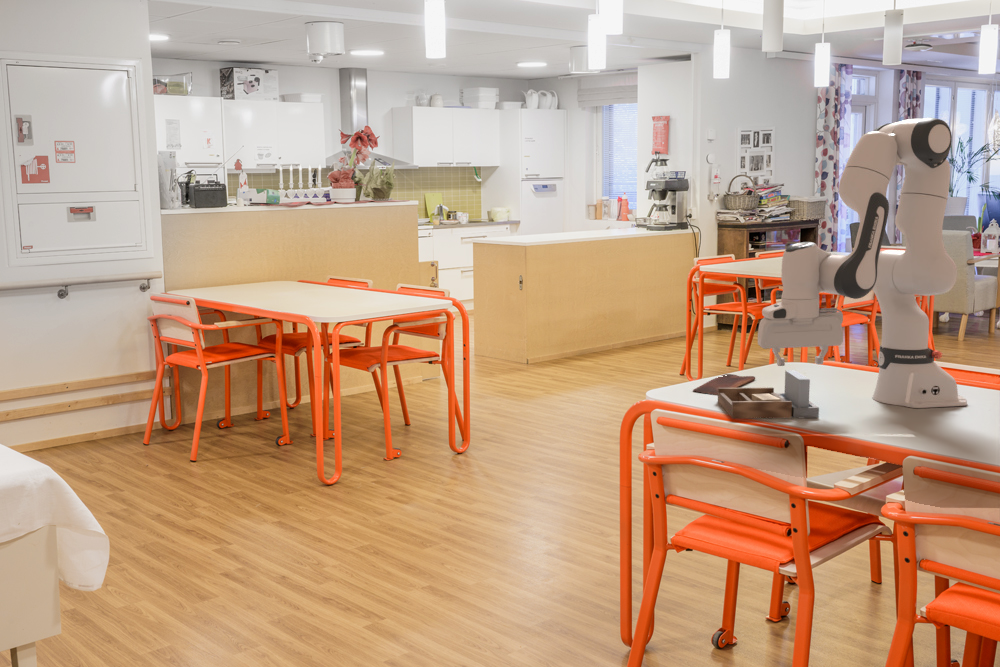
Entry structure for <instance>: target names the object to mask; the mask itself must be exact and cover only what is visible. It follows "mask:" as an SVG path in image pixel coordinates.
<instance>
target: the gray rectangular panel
mask: <svg viewBox="0 0 1000 667" xmlns="http://www.w3.org/2000/svg"><path fill="white" fill-rule="evenodd" d="M784 371H785V372H784V393H785V394H784V398H786V399H787V400H788V401H791V402H792V404H793V405H795V406H796V407H809V401H810V385H811V384H810V383H811V380H810V378H808V377H807V376H806V375H803V374H802V373H800V372H798V371H797V370H793V369H792V370H784Z"/></svg>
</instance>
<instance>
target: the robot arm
mask: <svg viewBox="0 0 1000 667" xmlns="http://www.w3.org/2000/svg"><path fill="white" fill-rule="evenodd" d="M952 138H953V137H952V131H951V128H950V126H949V125H948V123H947V122H946V121H944V120H943V119H939V118H935V117H925V118H910V119H904V120H901V121H897V122H896V121H895V122H893V123H885V124H882V125H879V126H878V127H877V128H875V129H874V130H873V131H869V132H866V133H865V134H863V135H861V137H860V138H859V140H858V141H857V143H856V145H855V146H854V148H853V150H852V151H851V153H850V156H849V157H848V160H847V162H846V164H845V167H844V169H843V172H842V174H841V177H840V179H839V184H838V195H839V197H840V199H841V201H842V202H843V203H844V204H845V205H846V206H847V207H848V208H850V209H851V210H853V211H854V212H856V213H857V214H858V217H859V225H858V226H859V227H858V230H857V233H856V238H855V242H854V247H853V249H852V251H851V252H850V253H849V254H847V255H843V254H835V253H834V254H833V253H831V252H828V251H826V250H824V249H822V248H820V247H819V246H818V244H816V243H815V242H811V241H803V242H797V243H792V244H790V245H788V246H787V247H785V249H784V251H783V253H782V254H783V255H782V259H781V260H782V261H781V276H780V278H781V283H782V293H781V297H780V298H781V299H780V300H781V301H779V302H776V303H774V304H771V305H769V306H768V305H767V306H765V307H763V308H762V310H761V314H762V316H763V318H761V320H759V324H758V330H757V344H758V346H760V348H762V349H764V350H765V349H766V350H767V349H772V353H773V355H774V357H775V358H776V365H777V366H778V367H783V366H785V365H786V364H785V359H786V358H784V357H781V356H780V354H779V353H781V349H789V348H790V349H791V348H792V349H793V348H810V347H811V348H815V347H819V350H821V351H820V352H819V354H818V356H817V355H816V356H815V360H814V364H815V365H824V358H825V357H826V355H827V353H828V351H829V347H833V346H834V347H835V346H841V345H842V343H843V342H844V332H843V326H842V324H843V321H844V315H843V314H844V313H843V312H842V311H841V309H838V308H837V307H830V308H827V307H826V308H825V307H823V308H821V307H820V293H826V294H830V295H838V296H839V295H840V296H842V297H845V298H850V299H853V300H854V299H855V300H856V299H857V300H858V299H861V298H862V299H863V297H865V296H867V295H868V294H869V293H871V291H873V293H874V295H875V296H876V299H877V303H878V305H879V309H880V313H881V344H880V346H879V350H878V367H879V370H878V376H877V381H876V384H875V388H874V392H873V394H872V396H871V398H872V400H873V401H876V402H879V403H883V404H886V405H887V404H888V405H893V406H894V405H895V406H901V407H902V406H903V407H907V408H913V409H925V408H928V409H929V408H939V407H940V408H942V407H945V408H946V407H962V406H963V407H964V406H967V405H968V400H967V399H966V398H965V397H963V396H961V395H959V392H958V384H957V382H956V381H957V380H956V379H955V378H954V377H953V376H952V375H951V374H950V373H948V372H947V371H946V370H945V369H943V368H942V367H941V366H940V365H938V364H937V363H936V362H935V359H937V360H940V359H941V358H942V357H943V352H941V351H940V350H937V349H935V350H933V349H932V348H930V347H929V333H930V319H929V316H928V315H927V313H926V312H925V311H923V310H922V309H921V308H920V305H918V302H917V299H916V295H917V296H925V297H929V296H930V297H931V296H936V295H937V296H938V295H944V294H946V293H948V292H950V291H951V290H952V289H953V287H954V286H955V284H956V282H957V279H958V268H957V264H956V263H955V261H954V259H952V258H951V256H950V255H949V254H948V252H947V250H946V247H945V244H944V238H943V237H944V236H943V225H944V219H945V218H944V217H945V214H946V213H945V212H946V207H947V203H948V202H947V201H948V198H949V192H950V185H951V184H950V182H951V166H950V161H948V156H949V153H950V150H951V147H952V142H953V139H952ZM896 166H903V168H904V174H905V177H904V180H903V184H902V187H901V190H900V195H899V196H900V197H899V199H898V200H899V201H898V204H897V205H898V206H897V209H896V210H897V211H896V214H895V220H894V223H895V227H896V229H897V230H898V231H900V232H901V233H902V234H903V236H904V240H905V250H903V249H901V250H899V249H886V250H882V245H883V240H884V237H885V236H884V235H885V231H886V226H887V223H888V219H889V212H890V204H889V200H888V198H887V191H888V186H889V184H890V181H891V179H892V176H893V172H894V169H895V167H896Z"/></svg>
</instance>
